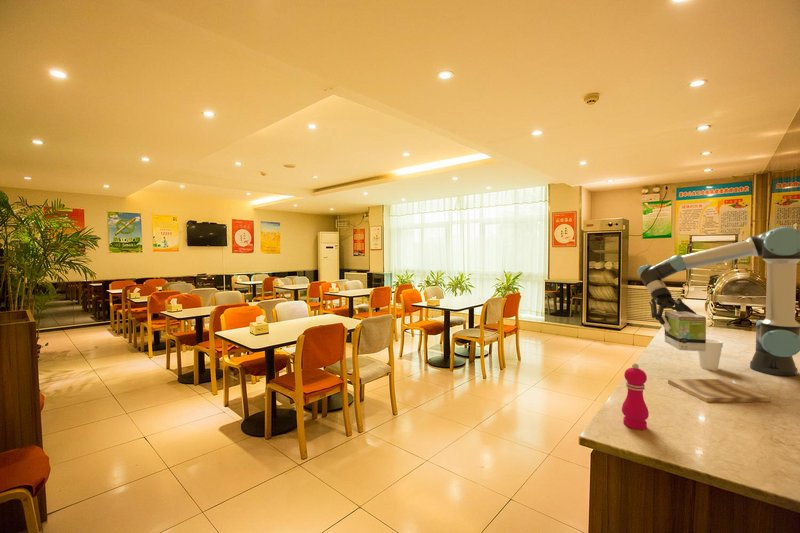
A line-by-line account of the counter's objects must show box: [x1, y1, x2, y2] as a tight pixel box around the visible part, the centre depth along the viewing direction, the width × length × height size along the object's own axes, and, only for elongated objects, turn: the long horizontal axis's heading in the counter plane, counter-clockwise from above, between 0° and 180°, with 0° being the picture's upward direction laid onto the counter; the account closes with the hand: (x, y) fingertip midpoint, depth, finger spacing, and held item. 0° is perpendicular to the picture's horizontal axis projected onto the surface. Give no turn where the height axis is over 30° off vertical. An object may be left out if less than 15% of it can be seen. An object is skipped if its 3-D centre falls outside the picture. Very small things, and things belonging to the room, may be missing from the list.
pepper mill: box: [621, 362, 650, 431], centre depth 115 cm, size 7×7×20 cm
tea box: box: [664, 310, 707, 352], centre depth 159 cm, size 15×10×15 cm
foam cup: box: [697, 337, 724, 371], centre depth 169 cm, size 10×9×13 cm
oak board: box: [667, 378, 771, 403], centre depth 141 cm, size 23×19×2 cm
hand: (683, 329), depth 160 cm, fingers closed on tea box, 12 cm apart
